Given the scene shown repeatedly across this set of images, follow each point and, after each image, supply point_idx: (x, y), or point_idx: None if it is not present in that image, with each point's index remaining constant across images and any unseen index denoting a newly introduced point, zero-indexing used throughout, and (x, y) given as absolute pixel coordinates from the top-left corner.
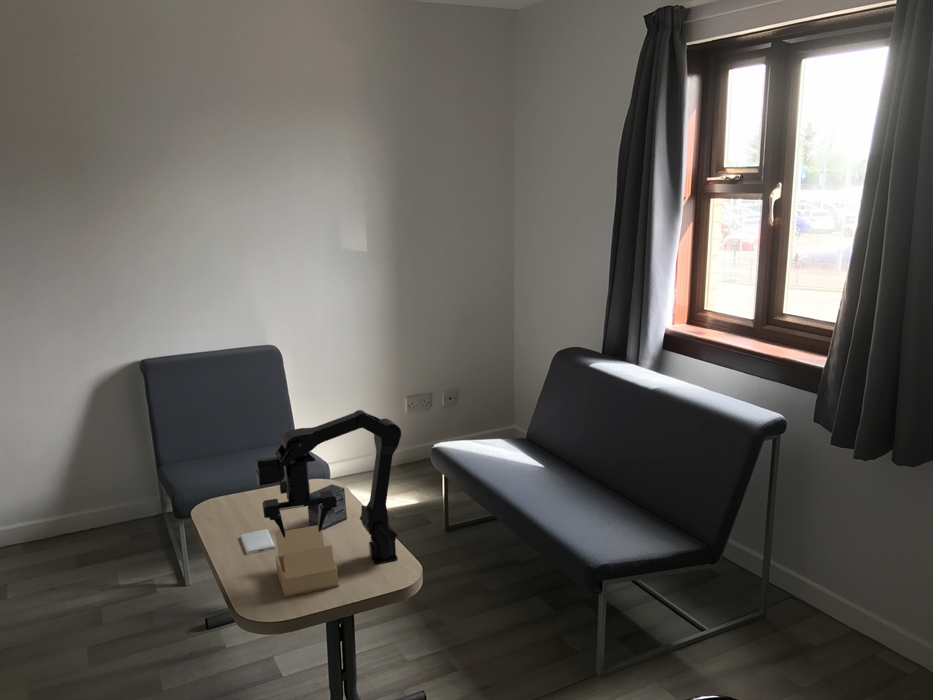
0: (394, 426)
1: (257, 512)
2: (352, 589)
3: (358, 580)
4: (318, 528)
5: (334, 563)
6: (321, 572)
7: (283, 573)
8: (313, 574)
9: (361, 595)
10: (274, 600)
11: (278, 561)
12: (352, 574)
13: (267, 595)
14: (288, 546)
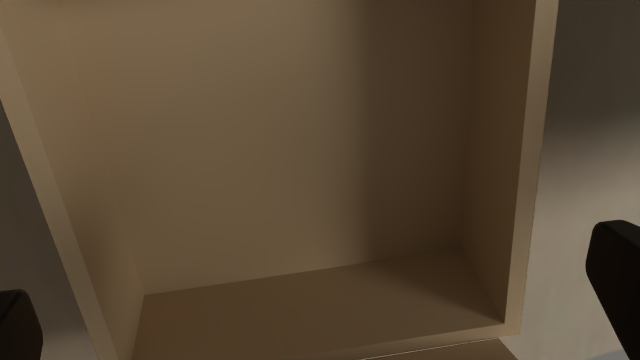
0: None
1: None
2: (531, 291)
3: (598, 209)
4: (614, 274)
5: (524, 259)
6: (402, 348)
7: (85, 1)
8: (342, 356)
9: (552, 349)
10: (74, 313)
11: (15, 102)
12: (594, 127)
13: (12, 253)
14: None
